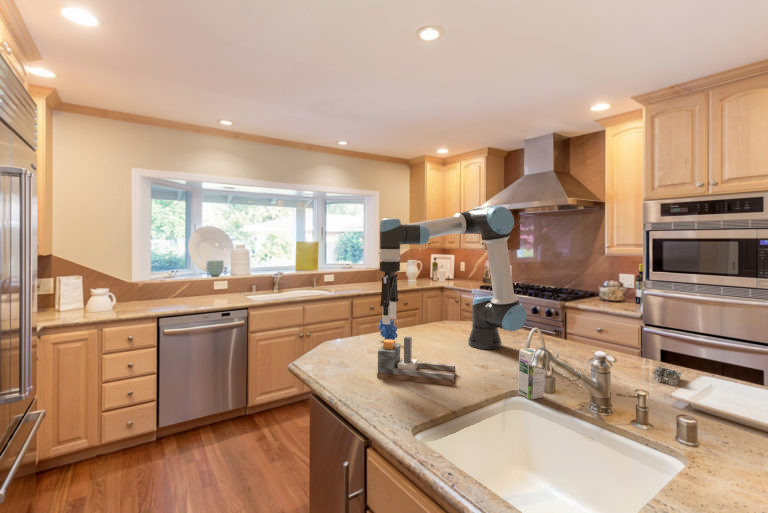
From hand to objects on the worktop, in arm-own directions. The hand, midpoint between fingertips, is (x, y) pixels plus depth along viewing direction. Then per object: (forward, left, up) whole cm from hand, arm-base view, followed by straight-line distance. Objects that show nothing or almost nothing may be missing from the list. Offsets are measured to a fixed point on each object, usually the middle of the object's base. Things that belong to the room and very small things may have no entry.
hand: (389, 321), depth 140 cm
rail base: (-11, 0, -19) cm, 22 cm away
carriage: (-7, 0, -18) cm, 19 cm away
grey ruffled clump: (-97, -21, -20) cm, 101 cm away
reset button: (0, 0, -10) cm, 10 cm away
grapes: (+12, -40, -20) cm, 46 cm away
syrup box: (-49, +7, -20) cm, 53 cm away
